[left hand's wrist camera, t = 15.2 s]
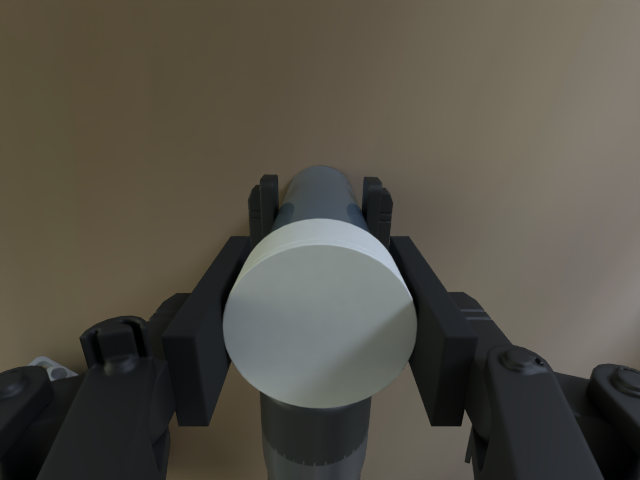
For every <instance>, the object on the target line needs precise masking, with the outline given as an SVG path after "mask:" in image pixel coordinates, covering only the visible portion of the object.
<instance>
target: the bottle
mask: <svg viewBox="0 0 640 480" xmlns="http://www.w3.org/2000/svg"><path fill="white" fill-rule="evenodd" d="M307 219H332V220H339V221H343V222H346V223H350V224H352V225H354V226H357V227H359V228H361V229H363V230H365V231H366V232H368V233H370V231H369V229H368V226H367V224H366V221H365V219H364V217H363V214H362V212H361V209H360V207H359V204H358V202H357V199H356V197H355V194H354V192H353V190H352V187H351V185H350V183H349V181H348V180H347V178H346V177H345V176H344V175H343V174H342V173H340V172H339V171H337V170H335V169H333V168H331V167H327V166H313V167H309V168H307V169H305V170H303V171H301V172H300V173H298V174H297V175H296V176H295V177H294V178H293V180H292V181H291V183H290V185H289V187H288V189H287V192H286V194H285V197H284V199H283V202H282V204H281V207H280V209H279V211H278V214H277V216H276V219H275V221H274V224H273V226H272V229H271V231H270V234H271V233H272V232H273V231H275V230H277V229H279V228H281V227H283V226H285V225H288V224H291V223H293V222H297V221H302V220H307Z"/></svg>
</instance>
